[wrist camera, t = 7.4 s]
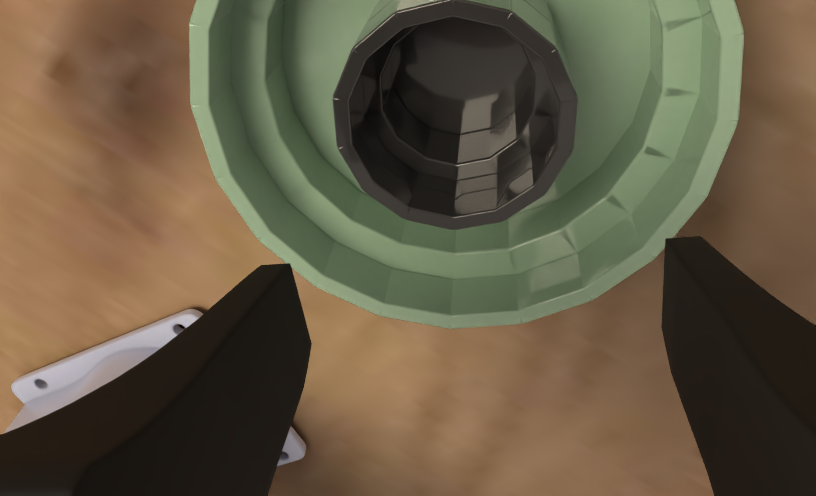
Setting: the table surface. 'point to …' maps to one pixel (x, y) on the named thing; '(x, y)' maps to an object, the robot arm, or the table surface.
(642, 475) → the table surface
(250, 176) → the sage bowl
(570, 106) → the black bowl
